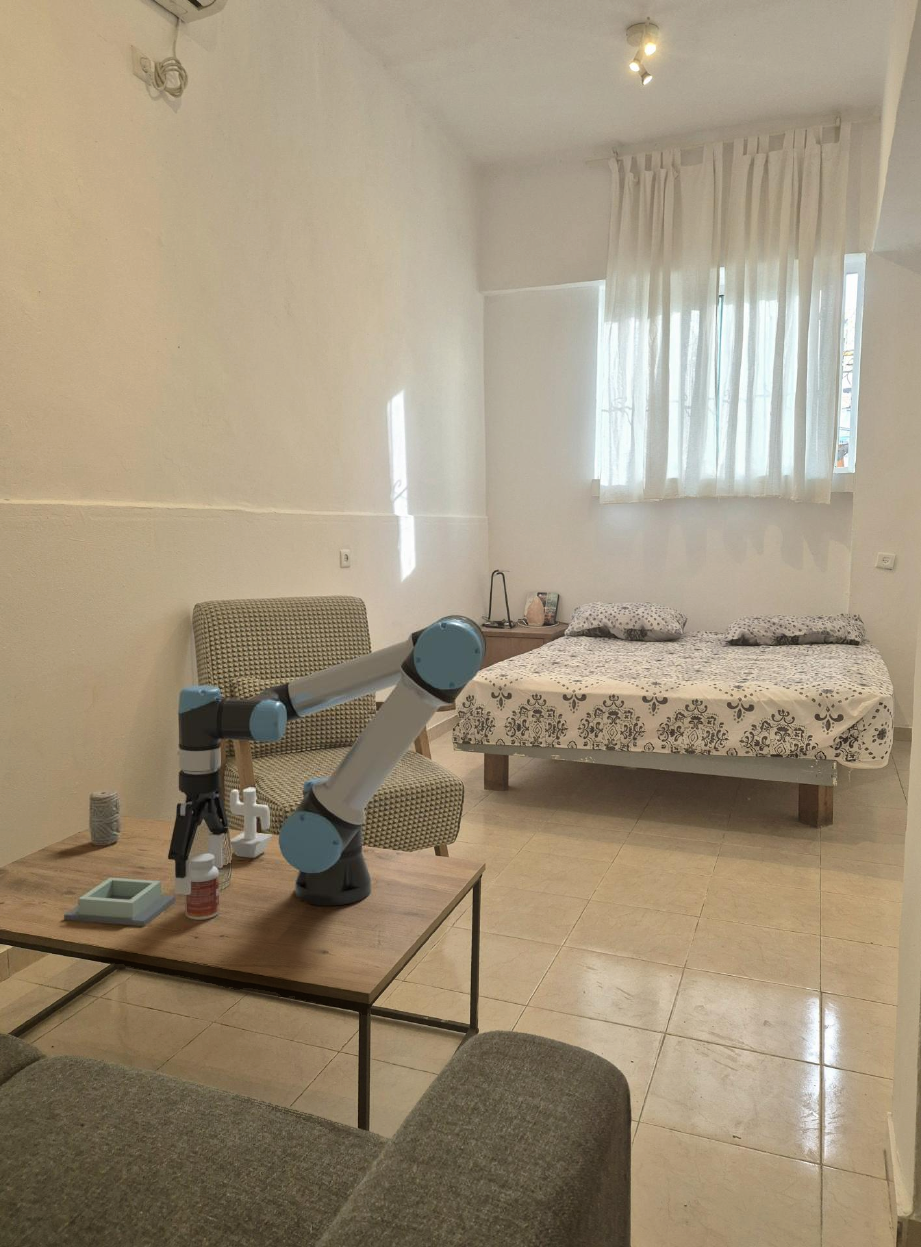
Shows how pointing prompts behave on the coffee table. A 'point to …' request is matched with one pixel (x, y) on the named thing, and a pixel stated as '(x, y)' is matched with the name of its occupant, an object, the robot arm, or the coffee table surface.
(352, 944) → the coffee table surface
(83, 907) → the bottle holder
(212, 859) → the pill bottle
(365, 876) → the robot arm
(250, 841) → the figurine
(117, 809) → the carving
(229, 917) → the coffee table surface
